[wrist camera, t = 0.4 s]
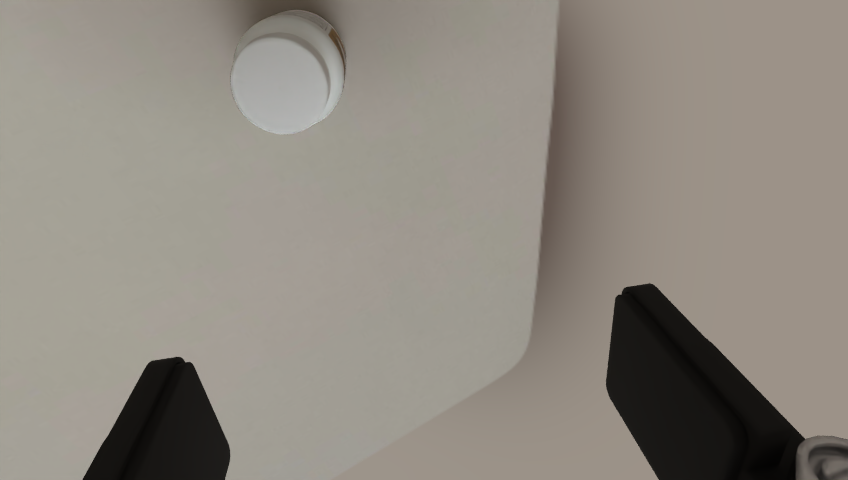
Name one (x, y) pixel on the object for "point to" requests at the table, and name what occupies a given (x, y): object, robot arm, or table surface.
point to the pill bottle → (288, 71)
